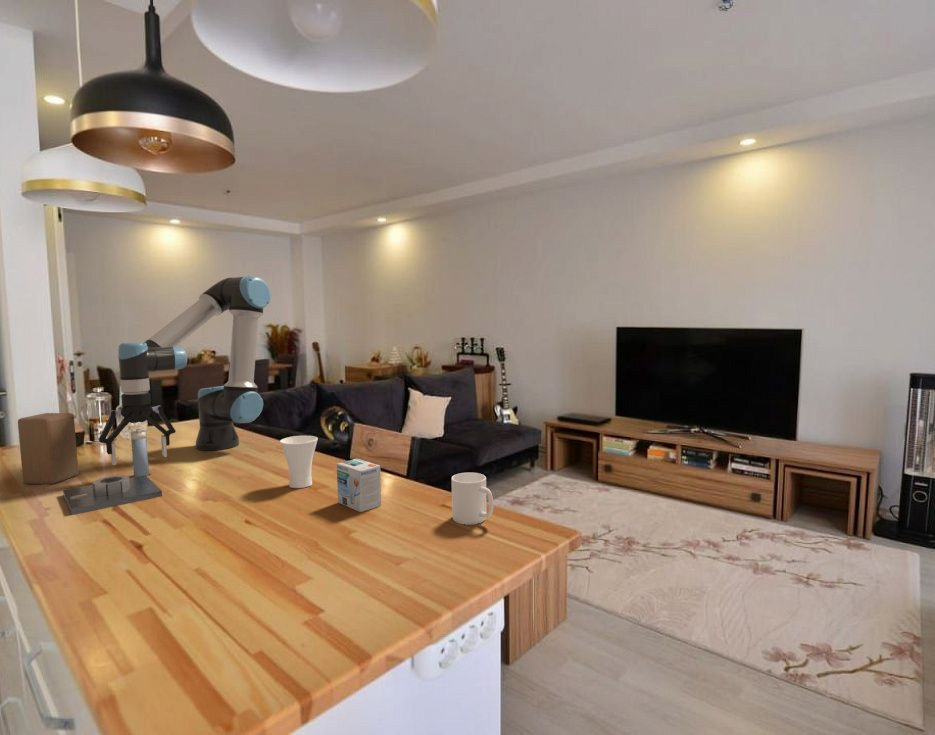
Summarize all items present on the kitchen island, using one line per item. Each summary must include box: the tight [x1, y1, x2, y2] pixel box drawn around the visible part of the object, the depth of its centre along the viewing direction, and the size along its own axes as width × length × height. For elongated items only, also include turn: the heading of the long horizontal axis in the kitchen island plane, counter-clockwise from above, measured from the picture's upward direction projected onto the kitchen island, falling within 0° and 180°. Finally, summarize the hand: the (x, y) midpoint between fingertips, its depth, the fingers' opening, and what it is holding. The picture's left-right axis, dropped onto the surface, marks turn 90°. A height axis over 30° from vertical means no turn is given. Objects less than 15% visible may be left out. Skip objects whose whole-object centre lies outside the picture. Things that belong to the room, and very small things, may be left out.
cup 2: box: [451, 472, 495, 526], centre depth 124 cm, size 8×12×10 cm
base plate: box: [62, 474, 163, 516], centre depth 145 cm, size 20×20×4 cm
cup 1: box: [279, 435, 318, 489], centre depth 152 cm, size 10×10×14 cm
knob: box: [130, 428, 150, 477], centre depth 163 cm, size 4×4×15 cm
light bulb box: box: [336, 458, 382, 513], centre depth 136 cm, size 11×7×11 cm, turn 47°
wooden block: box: [17, 412, 79, 485], centre depth 159 cm, size 10×10×20 cm
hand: (140, 460), depth 163 cm, fingers open, 13 cm apart
